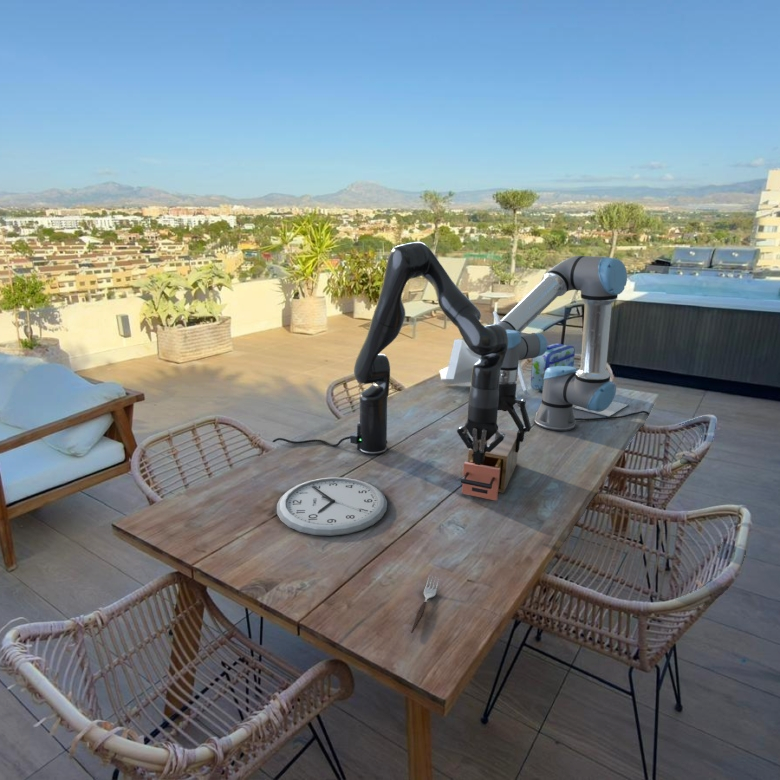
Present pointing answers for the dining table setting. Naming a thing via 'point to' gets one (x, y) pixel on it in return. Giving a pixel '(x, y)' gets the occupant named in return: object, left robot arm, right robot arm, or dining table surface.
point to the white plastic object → (468, 364)
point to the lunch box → (550, 362)
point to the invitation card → (607, 409)
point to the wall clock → (331, 506)
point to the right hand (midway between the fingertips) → (498, 447)
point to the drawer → (482, 478)
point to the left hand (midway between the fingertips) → (478, 463)
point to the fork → (428, 594)
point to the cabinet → (503, 455)
